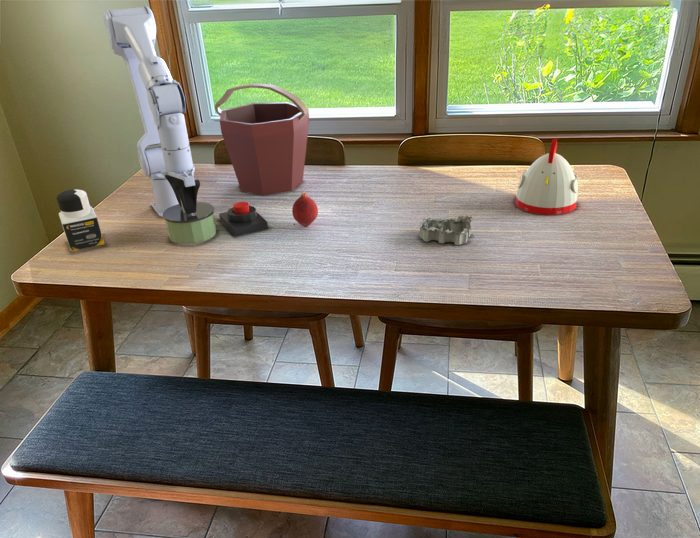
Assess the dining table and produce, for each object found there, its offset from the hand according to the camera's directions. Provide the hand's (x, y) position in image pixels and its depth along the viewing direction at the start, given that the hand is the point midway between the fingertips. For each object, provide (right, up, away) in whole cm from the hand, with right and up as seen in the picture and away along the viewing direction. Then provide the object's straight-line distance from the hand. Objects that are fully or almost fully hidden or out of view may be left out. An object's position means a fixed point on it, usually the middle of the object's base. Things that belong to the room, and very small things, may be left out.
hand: (187, 209), depth 135 cm
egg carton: (+56, -7, -2) cm, 57 cm away
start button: (+11, +1, +6) cm, 12 cm away
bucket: (+14, +14, +31) cm, 37 cm away
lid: (0, -1, 0) cm, 1 cm away
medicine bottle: (-23, -7, +2) cm, 25 cm away
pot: (0, -5, +4) cm, 6 cm away
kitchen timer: (+82, +4, +11) cm, 83 cm away
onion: (+26, -3, +6) cm, 26 cm away
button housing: (+11, -2, +8) cm, 14 cm away
